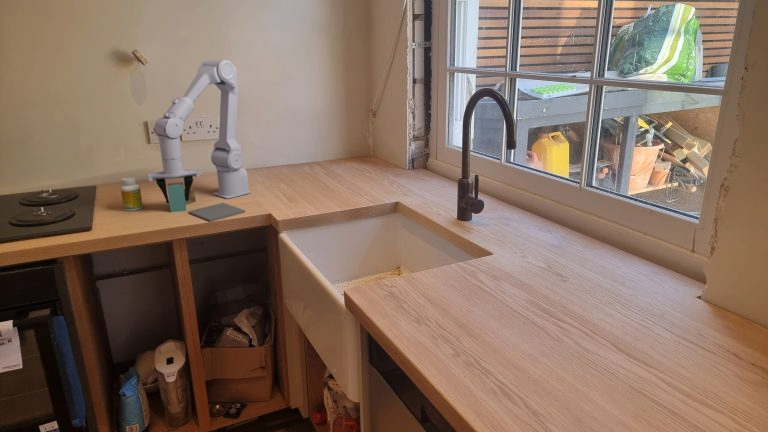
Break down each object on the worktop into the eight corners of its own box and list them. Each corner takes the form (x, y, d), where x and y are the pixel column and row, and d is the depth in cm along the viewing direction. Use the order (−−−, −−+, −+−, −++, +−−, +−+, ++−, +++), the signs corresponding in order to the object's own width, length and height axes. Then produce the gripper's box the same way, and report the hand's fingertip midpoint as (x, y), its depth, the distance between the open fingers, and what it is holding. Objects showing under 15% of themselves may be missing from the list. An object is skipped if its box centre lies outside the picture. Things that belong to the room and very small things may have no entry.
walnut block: (186, 200, 171) (185, 188, 170) (195, 201, 170) (194, 190, 168) (177, 203, 168) (175, 191, 167) (186, 205, 166) (185, 193, 165)
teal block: (186, 206, 164) (183, 182, 162) (186, 210, 160) (183, 185, 158) (170, 208, 163) (167, 183, 160) (170, 212, 159) (167, 187, 156)
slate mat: (223, 204, 167) (223, 202, 166) (245, 212, 159) (245, 210, 159) (188, 213, 158) (188, 211, 158) (210, 221, 151) (209, 219, 150)
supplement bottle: (135, 211, 159) (130, 181, 156) (120, 210, 160) (115, 180, 157) (146, 206, 164) (142, 176, 161) (131, 205, 165) (126, 175, 162)
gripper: (195, 153, 163) (200, 195, 167) (145, 157, 157) (151, 200, 161) (198, 157, 157) (203, 201, 161) (146, 162, 151) (152, 206, 155)
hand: (177, 201), depth 161 cm, fingers open, 5 cm apart
